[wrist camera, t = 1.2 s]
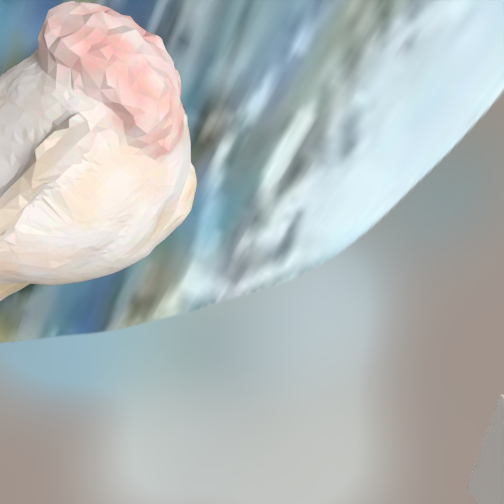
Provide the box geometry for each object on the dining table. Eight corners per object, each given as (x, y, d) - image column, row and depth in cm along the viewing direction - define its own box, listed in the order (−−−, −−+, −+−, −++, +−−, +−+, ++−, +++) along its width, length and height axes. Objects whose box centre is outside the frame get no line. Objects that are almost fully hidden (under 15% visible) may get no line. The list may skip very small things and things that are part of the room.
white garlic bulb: (232, 234, 36) (210, 291, 21) (17, 280, 37) (-144, 363, 22) (183, 27, 32) (116, -78, 17) (-52, 86, 33) (-296, 34, 19)
